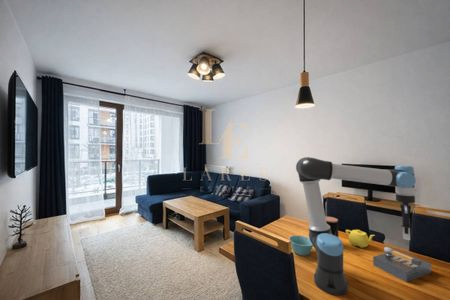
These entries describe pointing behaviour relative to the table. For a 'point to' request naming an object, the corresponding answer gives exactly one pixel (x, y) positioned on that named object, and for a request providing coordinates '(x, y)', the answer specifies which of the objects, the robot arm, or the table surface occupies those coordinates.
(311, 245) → the bowl
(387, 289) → the table surface
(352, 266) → the table surface
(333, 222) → the coffee jar
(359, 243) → the teapot
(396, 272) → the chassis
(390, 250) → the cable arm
